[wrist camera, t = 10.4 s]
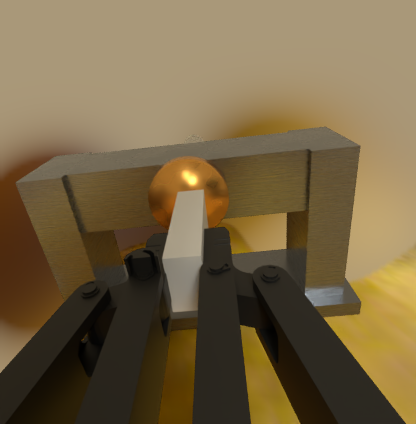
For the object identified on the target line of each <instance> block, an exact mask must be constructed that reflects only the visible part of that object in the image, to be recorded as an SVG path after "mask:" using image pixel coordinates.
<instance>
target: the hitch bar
mask: <svg viewBox="0 0 416 424" xmlns="http://www.w3.org/2000/svg"><path fill="white" fill-rule="evenodd" d="M359 153H360V145H358V144H356V143H354V142H352V141H350V140H349V139H347V138H345V137H343V136H342V135H340V134H338V133H336V132H334V131H332V130H331V129H329V128H327V127H319V128H310V129H302V130H292V131H288V132H287V133H278V134H269V135H260V136H250V137H241V138H232V139H223V140H214V141H206V142H196V143H186V144H177V145H169V146H160V147H151V148H142V149H132V150H122V151H113V152H104V153H95V154H92V153H82V154H73V155H64V156H55V157H54V158H53V159H51V160H49V161H48V162H46V163H45V164H43V165H42V166H40V167H39V168H37V169H36V170H34V171H33V172H31V173H29V174H28V175H26V176H25V177H23V178H22V179H20V180H19V181H17V182H16V185H17V188H18V190H19V193H20V195H21V198H22V200H23V202H24V205H25V207H26V210H27V212H28V214H29V217H30V219H31V222H32V224H33V226H34V229H35V231H36V234H37V236H38V238H39V241H40V243H41V246H42V248H43V251H44V253H45V255H46V258H47V260H48V263H49V265H50V267H51V270H52V272H53V275H54V277H55V280H56V282H57V284H58V287H59V289H60V292H61V294H62V296H63V299H64V301H66V300H67V299H68V298H69V296H70V295H71V294H72V293H73V292H74V291H75V290H76V289H77V288H78V287H79V286H81V285H83V284H85V283H86V282H89V281H93V280H101V281H105V282H106V283H107V284H108V287H112V286H115V285H119V284H121V283H124V282H126V281H127V279H128V272H127V269H126V265H123V263H122V259H121V256H120V252H119V249H118V245H117V241H116V238H115V234H114V231H113V230H116V229H126V228H136V227H146V226H156V225H161V224H160V223H159V222H158V221H157V220H156V219H155V218H154V216H153V214H152V212H151V210H150V207H149V202H148V193H149V188H150V185H151V183H152V181H153V178H154V176H155V174H156V173H157V171H158V170H159V169H160V168H161V167H162V166H163V165H164V164H165V163H167V162H168V161H170V160H172V159H175V158H178V157H183V156H195V157H200V158H203V159H205V160H207V161H209V162H211V163H212V164H214V165H215V166H216V167H217V168H218V169H219V170H220V171H221V173H222V174H223V176H224V178H225V180H226V184H227V188H228V194H229V205H228V209H227V212H226V214H225V216H224V218H223V219H225V218H235V217H244V216H254V215H265V214H275V213H285V212H287V249H281V250H271V251H261V252H250V253H240V254H232V262H233V265H234V266H235V267H236V268H237V269H238V270H240V271H242V272H246V273H252V274H253V272H254V271H255V270H256V269H257V268H258V267H261V266H264V265H275V266H279V267H281V268H283V269H284V270H286V271H287V272H288V274H289V275H290V276H291V277H292V279H293V280H294V281H295V283H296V284H297V285H298V286H299V288H300V289H301V290H302V292H303V293H304V294H305V295H306V297H307V298H308V299H309V300H310V302H311V303H312V304H313V306H314V307H315V308H316V309H317V311H318V312H319V313H320V315H321V316H322V317H330V316H341V315H352V314H360V307H361V301H360V300H359V298H358V296H357V295H356V293H355V292H354V290H353V289H352V287H351V286H350V284H349V283H348V281H347V280H346V278H345V271H346V263H347V254H348V245H349V237H350V229H351V220H352V211H353V204H354V195H355V187H356V178H357V169H358V161H359ZM170 314H171V319H172V324H171V331H172V330H184V329H195V328H197V319H198V310H196V311H183V312H173V309H172V305H171V309H170ZM86 336H87V335H85V337H86ZM85 337H84V338H85Z"/></svg>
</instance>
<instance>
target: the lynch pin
mask: <svg viewBox="0 0 416 424" xmlns="http://www.w3.org/2000/svg"><path fill="white" fill-rule="evenodd" d="M196 142H204V141H203V139H202V138H201V137H200V136H198V135H191V136H189V137H187V138H186V140H185V142H184V144H186V143H196ZM203 189H204V195H205V204H206V212H207V220H208V228H214V227H216V226H217V225H218V224H219V223H220V222H221V220H222V219H223V218H224V216H225V214H226V212H227V209H228V205H229V194H228V188H227V184H226V180H225V178H224V176H223V174H222V173H221V171H220V170H219V169H218V168H217V167H216V166H215V165H214V164H212V163H211V162H209V161H207V160H205V159H203V158H200V157H195V156H183V157H178V158H175V159H172V160H170V161H168V162H167V163H165V164H164V165H163V166H162V167H161V168H160V169H159V170H158V171H157V173H156V174H155V176H154V178H153V181H152V183H151V185H150V188H149V193H148V202H149V207H150V210H151V212H152V214H153V216H154V218H155V219H156V220H157V221H158V222H159V223H160V224H161V225H162V226H163V227H164V228H166V229H168V230H169V227H170V223H171V219H172V214H173V210H174V206H175V202H176V197H177V193H178V192H182V191H193V190H203Z"/></svg>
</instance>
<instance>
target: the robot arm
mask: <svg viewBox="0 0 416 424" xmlns="http://www.w3.org/2000/svg"><path fill="white" fill-rule="evenodd" d="M124 262H125V265H126V269H127V272H128V279H127V281H126V282H124V283H121V284H119V285H115V286H112V287H108V284H107V283H106V282H105V281H101V280H93V281H89V282H86V283H85V284H83V285H81V286H79V287H78V288H77V289H76V290H75V291H74V292H73V293H72V294H71V295H70V296H69V298H68V299H67V300H66V301H65V302H64V303H63V304H62V305H61V306H60V308H59V309H58V310H57V311H56V312H55V313H54V314H53V315H52V316H51V318H50V319H49V320H48V321H47V322H46V323H45V324H44V326H42V328H41V329H40V330H39V331H38V332H37V333H36V334H35V335H34V336H33V337H32V339H31V340H30V341H29V342H28V343H27V344H26V345H25V347H23V349H22V350H21V351H20V352H19V353H18V354H17V355H16V357H14V359H13V360H12V361H11V362H10V363H9V364H8V365H7V366H6V367H5V369H4V370H3V371H2V372H1V373H0V424H158V418H159V411H160V404H161V397H162V389H163V382H164V375H165V368H166V361H167V353H168V346H169V339H170V332H171V324H172V319H171V314H170V309H171V305H172V309H173V312H183V311H196V310H198V319H197V339H196V360H195V381H194V401H193V422H192V424H251V420H250V411H249V402H248V393H247V384H246V375H245V366H244V357H243V348H242V339H241V330H240V325H244V326H249V327H253V328H255V330H256V333H257V335H258V337H259V339H260V341H261V343H262V345H263V347H264V349H265V351H266V354H267V356H268V358H269V360H270V362H271V364H272V366H273V368H274V370H275V372H276V374H277V376H278V378H279V380H280V382H281V384H282V387H283V389H284V391H285V393H286V395H287V397H288V399H289V401H290V403H291V405H292V407H293V409H294V411H295V413H296V415H297V417H298V419H299V422H300V424H406V423H405V422H404V421H403V419H402V418H401V417H400V416H399V414H398V413H397V412H396V410H395V409H394V408H393V407H392V405H391V404H390V403H389V401H388V400H387V399H386V398H385V396H384V395H383V394H382V393H381V391H380V390H379V389H378V387H377V386H376V385H375V384H374V382H373V381H372V380H371V378H370V377H369V376H368V375H367V373H366V372H365V371H364V369H363V368H362V367H361V366H360V364H359V363H358V362H357V361H356V359H355V358H354V357H353V355H352V354H351V353H350V352H349V350H348V349H347V348H346V346H345V345H344V344H343V343H342V341H341V340H340V339H339V338H338V336H337V335H336V334H335V332H334V331H333V330H332V329H331V327H330V326H329V325H328V323H327V322H326V321H325V320H324V318H323V317H322V316H321V315H320V313H319V312H318V311H317V309H316V308H315V307H314V306H313V304H312V303H311V302H310V300H309V299H308V298H307V297H306V295H305V294H304V293H303V292H302V290H301V289H300V288H299V286H298V285H297V284H296V283H295V281H294V280H293V279H292V277H291V276H290V275H289V274H288V272H287V271H286V270H284V269H283V268H281V267H279V266H275V265H264V266H261V267H258V268H257V269H256V270H255V271H254V272H253V274H252V273H246V272H242V271H240V270H238V269H237V268H236V267H235V266H234V265H233V262H232V253H231V245H230V236H229V231H228V230H227V229H226V228H225V227H218V228H208V220H207V212H206V204H205V195H204V189H203V190H193V191H182V192H178V193H177V197H176V202H175V206H174V210H173V214H172V219H171V223H170V227H169V231H168V233H160V234H153V235H152V236H151V237H150V238H149V239H148V240H147V243H146V247H145V248H142V249H137V250H135V251H132V252H131V253H129V254H128V255H126V257H125V258H124ZM85 335H87V336H86V337H85ZM84 337H85V339H84V340H83V341H82V339H83V338H84Z"/></svg>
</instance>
